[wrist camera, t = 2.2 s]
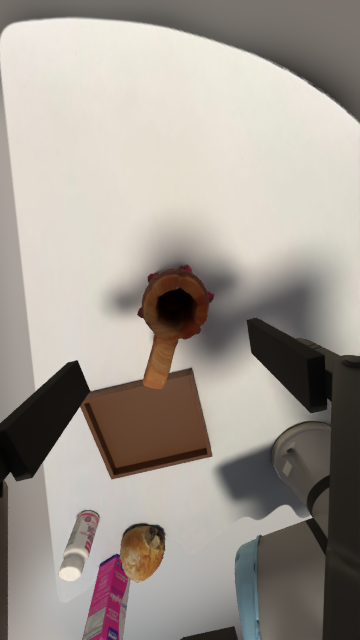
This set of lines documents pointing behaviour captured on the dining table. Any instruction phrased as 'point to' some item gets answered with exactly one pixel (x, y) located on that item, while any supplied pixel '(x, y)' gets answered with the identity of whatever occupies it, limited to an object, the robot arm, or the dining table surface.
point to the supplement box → (108, 602)
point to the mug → (171, 317)
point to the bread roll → (142, 552)
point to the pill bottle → (79, 546)
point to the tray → (147, 425)
